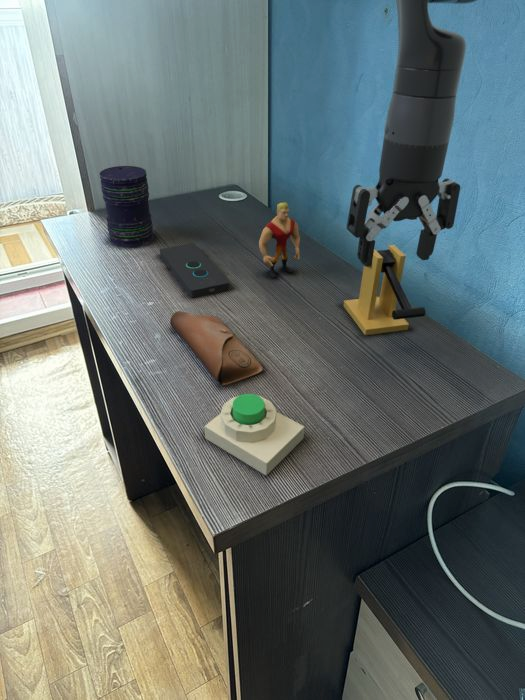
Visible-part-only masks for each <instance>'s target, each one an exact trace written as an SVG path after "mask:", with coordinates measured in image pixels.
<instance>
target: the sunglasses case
mask: <svg viewBox="0 0 525 700" xmlns="http://www.w3.org/2000/svg"><path fill="white" fill-rule="evenodd" d="M169 324H170V327H171V328H172V330H173V331H174V332H175V333H176V334H177V336H179V337H180V338H181V340H182V341H183V342H184V343H185V344H186V346H187V347H188V348H189V349H190V350H191V352H192V353H193V354H194V355H195V357H196V358H197V359H198V361H200V362H201V364H202V365H203V367H205V369H206V370H207V372H208V373H209V374H210V376H211V377H212V378H213V379H214V380H215V381H216V382H217V383H218V384H220V385H221V386H223V387H227V386H229V385H232V384H237V383H239V382H242V381H244V380H247V379H249V378H251V377H254V376H257V375H259V374H260V373H262V372H263V371H264V367H263V366H262V364H261V363H260V362H259V360H258V359H257V358H256V357H255V356H254V355H253V354H252V353H251V351H249V349H248V348H247V347H246V346H245V344H243V343H242V341H240V340H239V338H238V337H236V336H235V335H234V333H233V332H232V331H231V329H229V328H228V327H227V326H226V324H225V323H223V321H222V320H221V319H220V318H219V317H218V316H216V315H202V314H193V313H189V312H185V311H181V310H178V311H175V312H174V313H173V314H172V315H171V317H170V320H169Z"/></svg>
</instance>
